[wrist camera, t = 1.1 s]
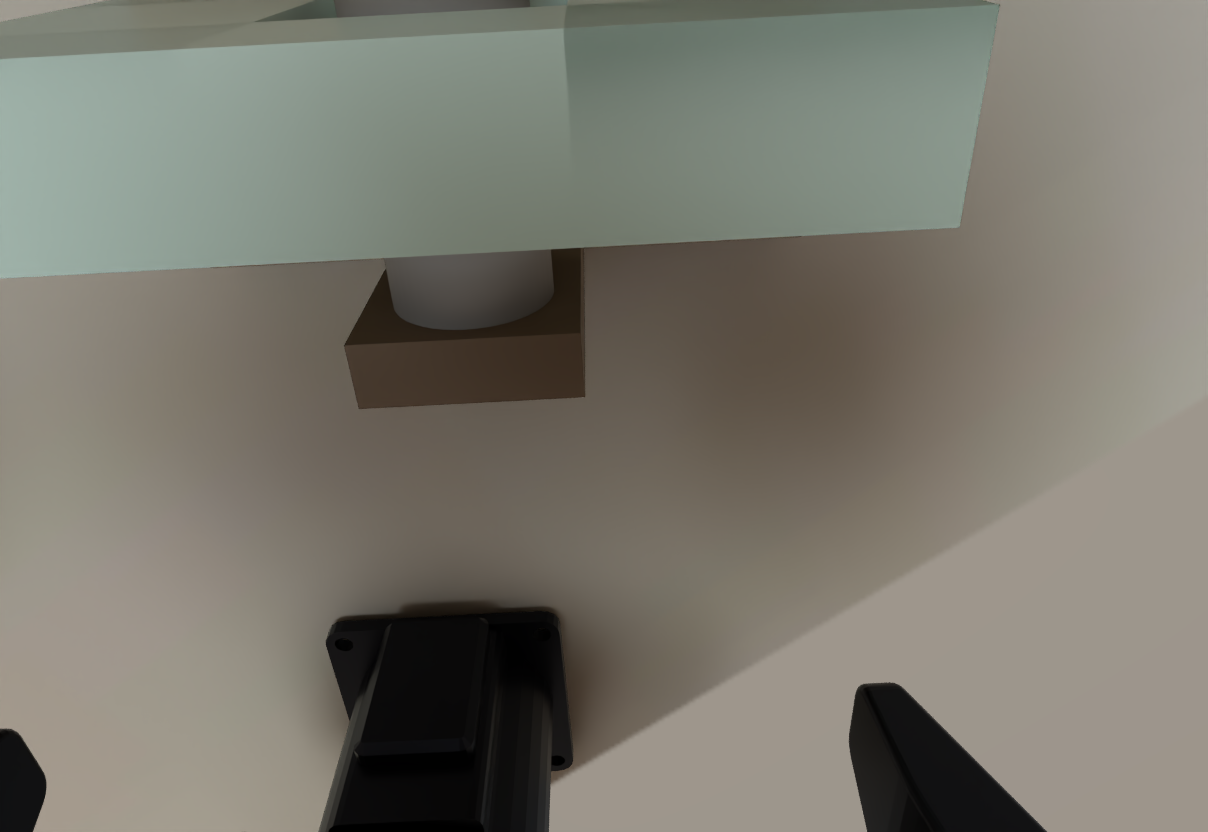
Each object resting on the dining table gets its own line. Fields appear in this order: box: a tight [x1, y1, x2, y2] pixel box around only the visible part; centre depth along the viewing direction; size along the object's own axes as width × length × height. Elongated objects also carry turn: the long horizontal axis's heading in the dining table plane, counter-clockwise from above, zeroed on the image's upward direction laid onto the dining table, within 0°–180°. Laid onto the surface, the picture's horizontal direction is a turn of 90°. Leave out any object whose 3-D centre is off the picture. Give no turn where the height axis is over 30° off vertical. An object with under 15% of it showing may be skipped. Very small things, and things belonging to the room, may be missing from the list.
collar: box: [0, 0, 1000, 279], centre depth 11 cm, size 2×11×7 cm, turn 93°
